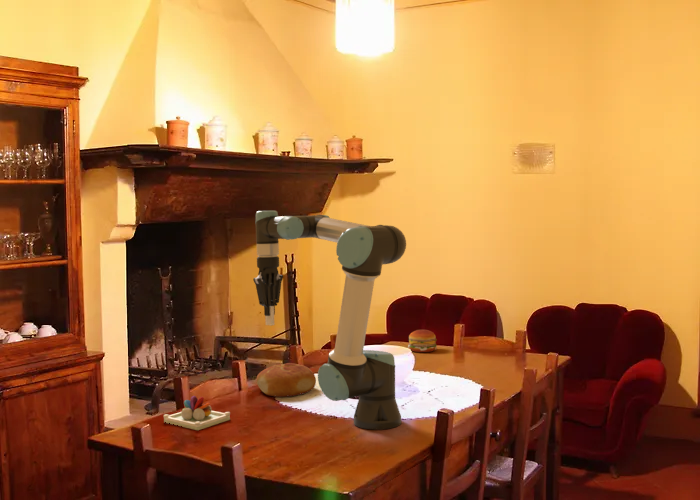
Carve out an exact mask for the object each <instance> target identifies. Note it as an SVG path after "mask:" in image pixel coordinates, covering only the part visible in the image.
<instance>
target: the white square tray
mask: <svg viewBox="0 0 700 500" xmlns="http://www.w3.org/2000/svg"><path fill="white" fill-rule="evenodd" d="M181 412H182V411H180V412H177V413H173V414H163V423H165V422H166V423H165V424H169V423H170V425H173V424H174V425H173V426H177V425H178V426H179V427H181V426H182V427H183V428H185V429H191V430H195V431H199V430H202V429H207V428H209V427H211V426H212V427H213V426H215V425H218V424H221V423H224V422H227V421H230V420H231V417H230V415H231V412H230V411H225V412H221V411H215V410H212V411H211V414H210V415H209V416H205V417H204V419H203V420H200V421H198V420H195V419H194V417H192V419H190V420H185V419H183V418H182V416H181Z"/></svg>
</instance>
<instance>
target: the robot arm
mask: <svg viewBox="0 0 700 500" xmlns="http://www.w3.org/2000/svg"><path fill="white" fill-rule="evenodd" d="M278 213H279V212H278V211H277V210H258V211H256V213H255V223H254V224H255V241H256V242H255V243H256V256H257V257H256V267H257V268H258V273H257V277H253V283H254V285H255V287H256V288H255V289H256V294H257V298H258V303H259V306H262V307H263V309H264V311H263V312H264V316H265V317H264V318H265V322H264V323H265V326H275V315H276V314H275V313H276V308H275V307H276V306H277V305H278V304H279V303H280V297H281V289H282V282H283V279H284V274H280V273H279V270H278V268H279V267H280V257H279V256H278V255H280V244H279V240H286V241H287V240H290V241H291V240H297V239H307V238H311V239H313V238H314V239H320V240H324V241H328V242H329V241H330V242H332V243H337V244H336V250H335V251H336V256H338V257H337V260H338V262H339V264H340V265H341V271H343V273H344V274H345V278H344V286H343V293H342V299H341V305H340V311H339V313H340V314H339V318H338V325H337V332H336V338H335V345H334V349H332V350H330V351H329V353H328V358H327V362H326V363H323V364H322V365H321V366H320V367H319V368H318V371H317V382H318V386H319V388H320V390H321V392H322V393H323V395H324V397H326V398H327V399H328V400H330V401H334V402H339V401H346V400H348V399H352V398H355V397H358V401H357V403H356V407H355V411H354V414H353V424H354V426H356V427H358V428H360V429H364V430H365V429H366V430H388V429H393V428H396V427H398V426H400V425H401V424H402V414H401V413H400V409H399V405H398V403H397V400H396V364H395V356H394V354H393V353H391V352H389V351H383V350H382V351H381V350H373V349H372V350H371V349H364V348H365V340H366V336H367V335H366V334H367V329H368V324H369V323H368V321H369V318H370V317H369V316H370V311H371V310H370V309H371V303H372V298H373V292H374V285H375V280H376V279H378V278H379V277H380V276H381V275H382V274H381V273H382V268H383V266H384V265H390V264H393V263H395V262H397V261H399V260H401V258H402V257H403V255H404V254H405V252H406V250H407V240H406V237H405V235H404V233H403V231H401V229H399V228H398V227H396V226H395V225H386V224H385V225H384V224H377V225H367V224H362V223H357V222H351V221H346V220H341V219H336V218H331V217H329V216H328V215H327V214H315V215H312V214H311V215H284V216H283V215H282V216H279V214H278Z"/></svg>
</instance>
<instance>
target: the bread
mask: <svg viewBox="0 0 700 500" xmlns="http://www.w3.org/2000/svg"><path fill="white" fill-rule="evenodd" d="M316 381H317V377H316V375H315V373H314V372H313V371H312V370H311V369H310V368H309V367H308V366H305V365H303V364H299V363H298V364H297V363H294V362H293V363H292V362H287V363H278V364H273V365H271V366H269V367H267V368H265V369H263V370H262V371H260V372H259V373H258V374H257V376H256V383H257V386H258V388H259V389H260V391H261V392H262V393H263V394H265V395H266V396H271V397H280V398H281V397H282V398H286V397H295V396H300V395H303V394H306V393H307V394H308V393H309V392H311V391H312V390H313V389H314V388H315V386H316V385H317V384H316V383H317V382H316Z"/></svg>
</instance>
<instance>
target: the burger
mask: <svg viewBox="0 0 700 500" xmlns="http://www.w3.org/2000/svg"><path fill="white" fill-rule="evenodd" d="M437 340H438V339H437V338H436V334H435V333H434V332H433V331H431V330H428V329H416V330H414V331H412V332H411V333H410V334H409V335H408V345H407V348H409V349H411V350H412V351H411V350H410V351H411V352H415V353H429V352H430V353H431V352H433V351H435V350H437V348H438V347H437V343H436V342H437Z"/></svg>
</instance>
